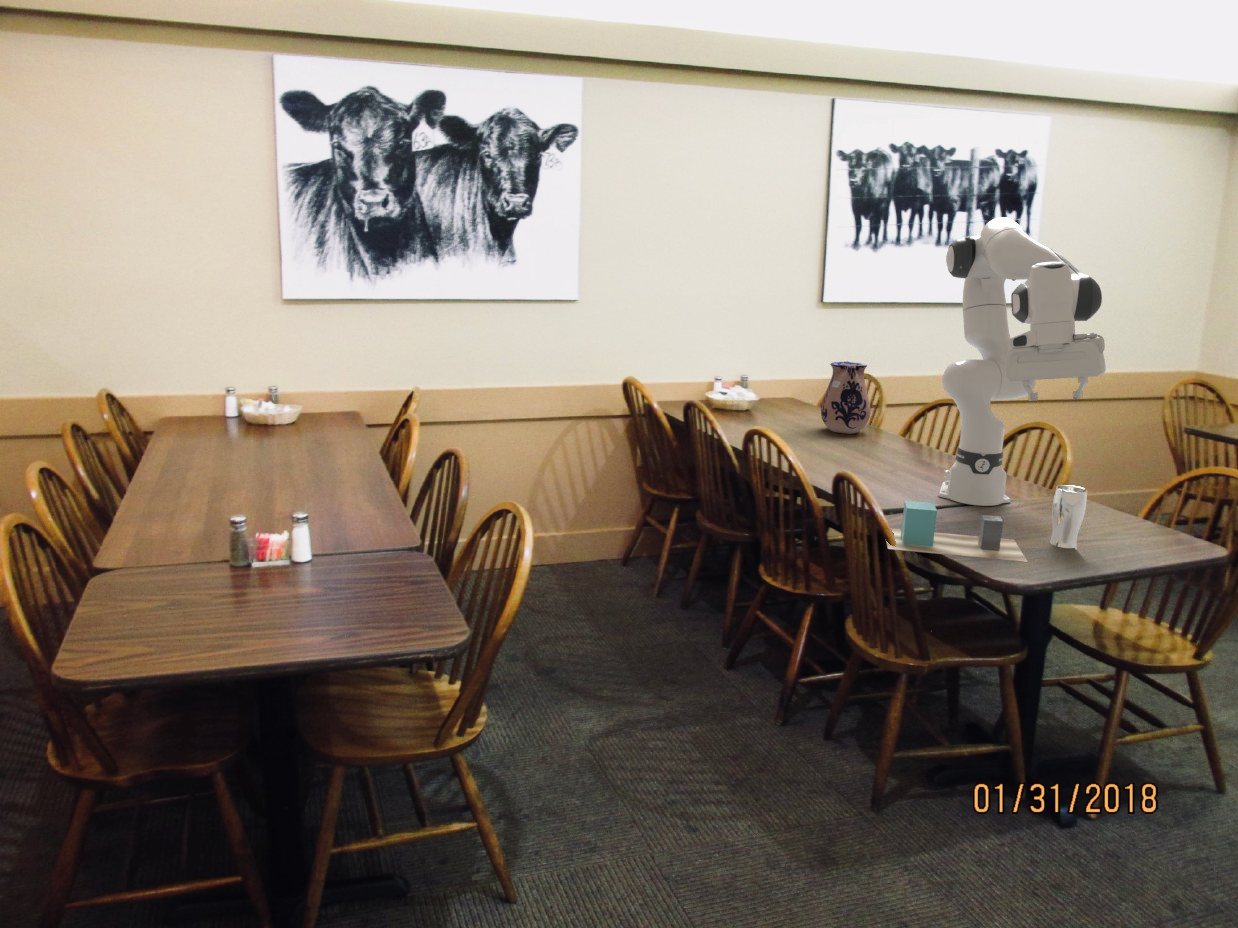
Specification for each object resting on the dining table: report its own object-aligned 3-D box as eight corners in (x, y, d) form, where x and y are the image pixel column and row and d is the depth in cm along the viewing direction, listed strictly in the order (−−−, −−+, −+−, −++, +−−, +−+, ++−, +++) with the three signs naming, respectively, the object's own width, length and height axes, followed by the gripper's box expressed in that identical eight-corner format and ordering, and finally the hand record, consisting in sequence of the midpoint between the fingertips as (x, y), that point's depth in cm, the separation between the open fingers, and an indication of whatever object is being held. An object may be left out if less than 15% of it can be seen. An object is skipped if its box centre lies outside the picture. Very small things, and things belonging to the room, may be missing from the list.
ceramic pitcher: (827, 436, 340) (833, 366, 334) (811, 424, 360) (816, 358, 354) (875, 437, 342) (882, 367, 335) (856, 425, 362) (862, 359, 356)
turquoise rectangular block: (900, 535, 226) (904, 500, 224) (929, 537, 225) (933, 502, 223) (903, 543, 220) (907, 508, 218) (932, 546, 219) (937, 510, 217)
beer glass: (1063, 556, 220) (1073, 493, 216) (1039, 546, 226) (1048, 486, 222) (1085, 553, 222) (1095, 491, 219) (1061, 543, 228) (1070, 483, 225)
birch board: (882, 533, 232) (883, 527, 231) (1013, 545, 226) (1013, 539, 226) (887, 554, 216) (887, 548, 216) (1026, 568, 211) (1027, 561, 210)
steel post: (978, 543, 222) (981, 515, 220) (996, 545, 221) (999, 516, 219) (980, 549, 218) (984, 520, 216) (999, 550, 217) (1003, 521, 215)
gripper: (1108, 331, 203) (1110, 396, 204) (1011, 340, 217) (1014, 400, 218) (1099, 332, 198) (1101, 398, 200) (1000, 340, 212) (1003, 402, 214)
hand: (1055, 399), depth 209 cm, fingers open, 8 cm apart
